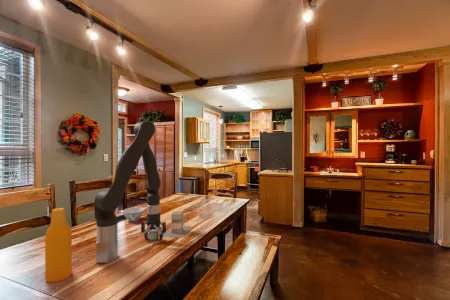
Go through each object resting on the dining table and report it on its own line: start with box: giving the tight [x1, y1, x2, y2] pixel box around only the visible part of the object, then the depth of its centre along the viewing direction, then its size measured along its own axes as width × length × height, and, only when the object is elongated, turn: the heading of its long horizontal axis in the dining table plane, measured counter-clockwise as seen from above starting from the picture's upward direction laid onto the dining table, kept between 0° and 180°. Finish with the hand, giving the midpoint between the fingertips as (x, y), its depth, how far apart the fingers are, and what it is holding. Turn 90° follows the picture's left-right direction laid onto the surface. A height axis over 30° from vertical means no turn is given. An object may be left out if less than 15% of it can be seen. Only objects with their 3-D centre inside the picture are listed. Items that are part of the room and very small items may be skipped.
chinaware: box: [122, 206, 145, 222], centre depth 173 cm, size 15×15×8 cm
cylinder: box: [148, 230, 159, 242], centre depth 133 cm, size 5×5×6 cm
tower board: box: [163, 225, 193, 239], centre depth 146 cm, size 19×14×2 cm
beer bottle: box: [44, 207, 73, 284], centre depth 97 cm, size 9×9×29 cm
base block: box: [171, 220, 185, 233], centre depth 146 cm, size 6×6×6 cm
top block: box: [171, 210, 185, 224], centre depth 146 cm, size 6×6×6 cm
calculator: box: [114, 211, 127, 222], centre depth 176 cm, size 11×4×15 cm
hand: (153, 239), depth 133 cm, fingers open, 8 cm apart
